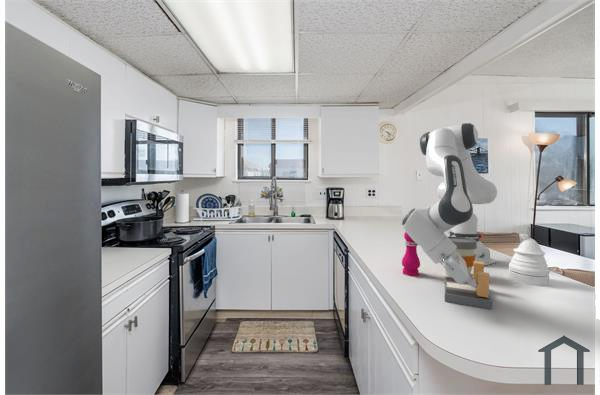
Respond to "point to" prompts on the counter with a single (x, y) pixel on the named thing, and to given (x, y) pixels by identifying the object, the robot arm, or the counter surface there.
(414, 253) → the pepper mill
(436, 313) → the counter surface
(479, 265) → the slider
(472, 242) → the reusable coffee cup
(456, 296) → the switch panel
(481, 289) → the slider
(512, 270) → the honey pot
